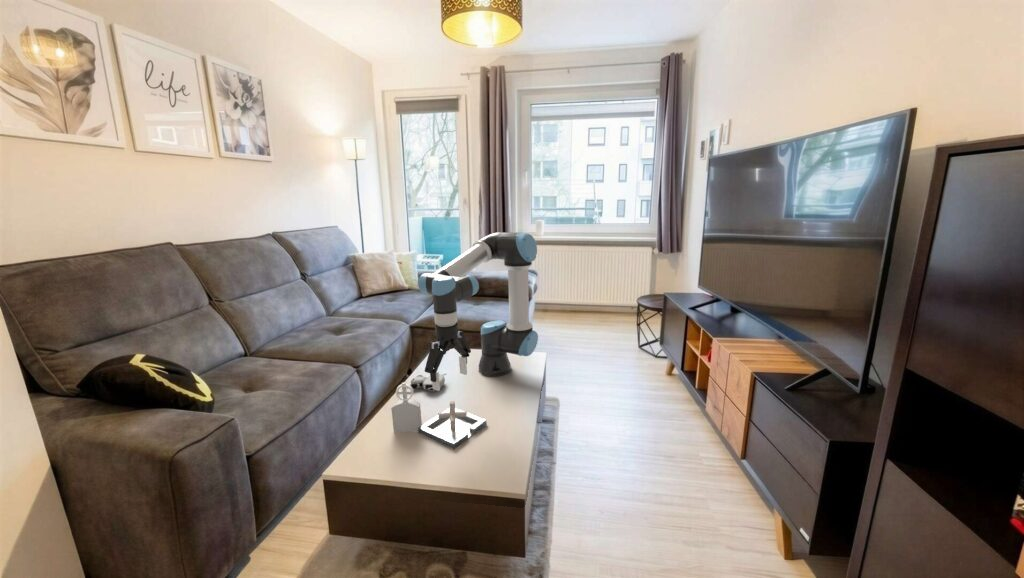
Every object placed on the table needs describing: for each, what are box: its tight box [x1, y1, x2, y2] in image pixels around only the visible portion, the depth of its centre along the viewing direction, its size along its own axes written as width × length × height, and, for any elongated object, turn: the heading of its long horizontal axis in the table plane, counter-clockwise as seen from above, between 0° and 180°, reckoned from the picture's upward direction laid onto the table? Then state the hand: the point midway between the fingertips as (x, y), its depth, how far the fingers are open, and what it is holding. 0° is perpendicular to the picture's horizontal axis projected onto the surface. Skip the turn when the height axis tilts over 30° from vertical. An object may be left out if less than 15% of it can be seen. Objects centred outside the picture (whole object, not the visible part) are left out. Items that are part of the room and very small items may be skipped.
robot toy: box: [406, 373, 447, 392], centre depth 175 cm, size 12×4×15 cm
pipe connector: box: [437, 400, 468, 429], centre depth 143 cm, size 10×10×10 cm
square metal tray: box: [417, 407, 487, 450], centre depth 144 cm, size 17×17×2 cm
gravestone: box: [391, 382, 423, 433], centre depth 142 cm, size 3×9×18 cm, turn 92°
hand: (450, 381), depth 140 cm, fingers open, 13 cm apart
